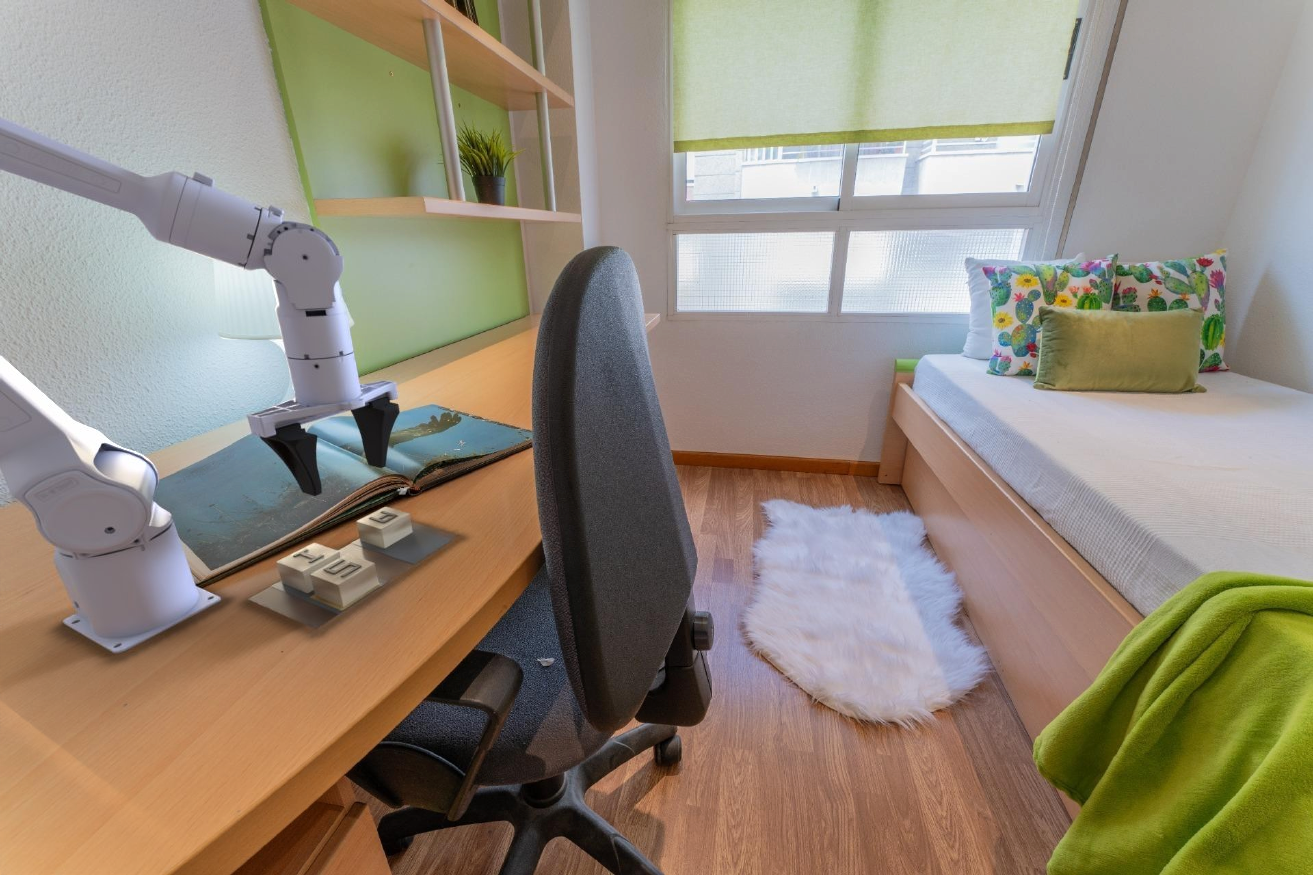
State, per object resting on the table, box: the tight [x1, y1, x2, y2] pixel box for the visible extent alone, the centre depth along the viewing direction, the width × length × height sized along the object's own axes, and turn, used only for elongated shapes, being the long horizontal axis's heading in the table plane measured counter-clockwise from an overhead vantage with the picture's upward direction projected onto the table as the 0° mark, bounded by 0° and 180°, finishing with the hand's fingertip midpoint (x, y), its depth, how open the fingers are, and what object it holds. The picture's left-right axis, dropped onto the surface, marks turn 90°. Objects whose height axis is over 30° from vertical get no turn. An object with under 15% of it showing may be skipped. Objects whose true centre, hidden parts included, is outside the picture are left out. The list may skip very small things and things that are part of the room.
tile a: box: [356, 506, 412, 549], centre depth 61 cm, size 4×4×3 cm
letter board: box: [247, 520, 460, 630], centre depth 57 cm, size 10×18×1 cm, turn 156°
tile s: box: [310, 554, 379, 607], centre depth 52 cm, size 4×4×3 cm
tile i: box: [275, 542, 341, 593], centre depth 54 cm, size 4×4×3 cm
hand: (346, 478), depth 56 cm, fingers open, 7 cm apart
